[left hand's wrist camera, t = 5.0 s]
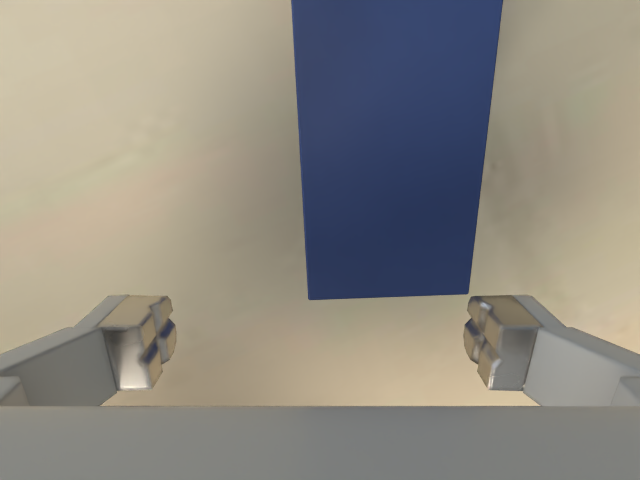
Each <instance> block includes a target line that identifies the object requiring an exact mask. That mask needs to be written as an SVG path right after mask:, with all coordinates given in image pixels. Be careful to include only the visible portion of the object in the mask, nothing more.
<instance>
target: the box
mask: <svg viewBox="0 0 640 480" xmlns="http://www.w3.org/2000/svg"><path fill="white" fill-rule="evenodd" d="M291 4H292V22H293V39H294V57H295V74H296V92H297V109H298V127H299V145H300V162H301V180H302V197H303V215H304V232H305V250H306V268H307V285H308V299H309V300H324V299H351V298H378V297H405V296H432V295H459V294H468V293H469V284H470V276H471V267H472V259H473V250H474V242H475V233H476V225H477V216H478V208H479V199H480V191H481V182H482V174H483V165H484V157H485V148H486V140H487V131H488V123H489V114H490V106H491V97H492V89H493V80H494V72H495V63H496V55H497V46H498V38H499V29H500V21H501V12H502V4H503V0H291Z"/></svg>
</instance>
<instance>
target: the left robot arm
mask: <svg viewBox="0 0 640 480" xmlns="http://www.w3.org/2000/svg"><path fill="white" fill-rule="evenodd" d="M172 311H173V308H172V303H171V299H170V298H169V297H168V296H144V295H131V296H130V295H112V296H108V297H107V298H105V299H104V300H103V301H102V302H101V303H100V304H99V305H98V306H97V307H95V308H94V309H93V310H92V311H91V312H90V313H89V314H88V315H87V316H86V317H84V318H83V319H82V320H81V321H80V322H79V323H78V324H77V325H76V326H74V327H67V328H65V329H62V330H60V331H57V332H55V333H52V334H50V335H47V336H45V337H42V338H40V339H37V340H35V341H32V342H30V343H27V344H25V345H23V346H20V347H18V348H15V349H13V350H10V351H8V352H5V353H3V354H0V480H640V354H637V353H635V352H632V351H630V350H627V349H625V348H622V347H620V346H617V345H615V344H612V343H610V342H608V341H605V340H603V339H600V338H598V337H595V336H593V335H590V334H588V333H585V332H583V331H580V330H578V329H575V328H573V327H566V326H565V325H563V324H562V323H561V322H560V321H559V320H558V319H557V318H556V317H555V316H553V315H552V314H551V313H550V312H549V311H548V310H547V309H546V308H545V307H544V306H542V305H541V304H540V303H539V302H538V301H537V300H536V299H535V298H534V297H532V296H530V295H499V296H473V297H471V298H470V300H469V302H468V308H467V311H468V313H469V314H470V316H471V317H472V318H471V319H470V320H469V321H468V322H467V323H466V324H465V327H464V335H463V337H464V346H465V349H466V352H467V354H468V356H469V358H470V360H472V361H473V362H475V363H477V364H478V370H477V372H478V374H479V375H480V377H481V379H482V380H483V382H484V384H485V385H486V387H487V389H488V390H505V391H523V393H524V394H526V395H527V396H528V397H530V398H531V399H532V400H534V401H535V402H536V403H538V404H539V405H540V406H100V405H101V404H102V403H104V402H105V401H106V400H108V399H109V398H110V397H112V396H113V395H114V394H116V393H117V391H134V390H152V389H153V387H154V385H155V384H156V382H157V380H158V379H159V377H160V375H161V374H162V372H163V370H162V364H163V363H165V362H167V361H168V360H170V358H171V356H172V354H173V353H174V349H175V345H176V326H175V324H174V323H173V322H172V321H171V320H170V319H169V316H170V314H171V313H172Z"/></svg>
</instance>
